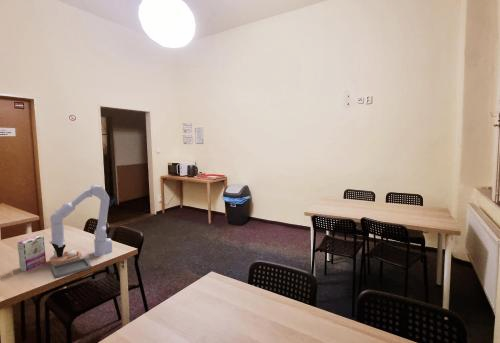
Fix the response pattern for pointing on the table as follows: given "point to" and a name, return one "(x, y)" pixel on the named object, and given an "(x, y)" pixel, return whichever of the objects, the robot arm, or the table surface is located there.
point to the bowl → (64, 259)
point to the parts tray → (71, 267)
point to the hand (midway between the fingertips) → (59, 255)
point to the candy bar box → (31, 253)
